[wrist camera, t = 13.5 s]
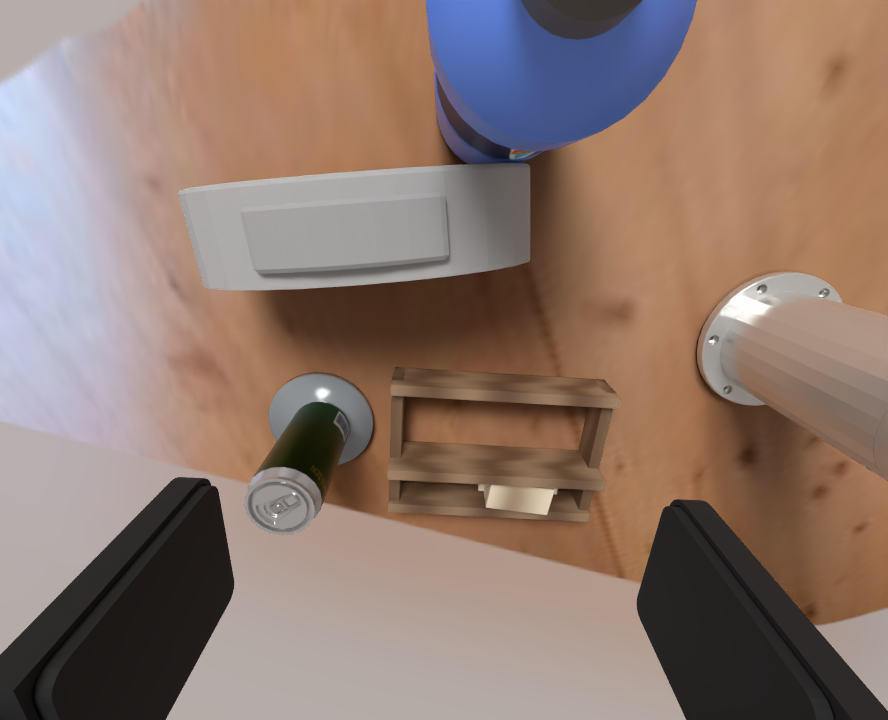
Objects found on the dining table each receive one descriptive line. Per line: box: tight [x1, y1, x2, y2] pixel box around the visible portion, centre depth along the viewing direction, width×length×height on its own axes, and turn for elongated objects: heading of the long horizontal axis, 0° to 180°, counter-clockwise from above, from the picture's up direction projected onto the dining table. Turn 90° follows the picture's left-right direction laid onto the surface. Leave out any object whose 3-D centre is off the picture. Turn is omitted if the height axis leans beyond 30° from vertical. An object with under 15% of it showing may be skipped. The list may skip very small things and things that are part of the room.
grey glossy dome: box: [269, 373, 374, 465], centre depth 41 cm, size 10×10×1 cm
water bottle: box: [426, 0, 697, 164], centre depth 20 cm, size 9×9×25 cm
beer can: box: [244, 401, 350, 535], centre depth 35 cm, size 5×5×12 cm
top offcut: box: [484, 485, 555, 515], centre depth 41 cm, size 6×3×2 cm, turn 81°
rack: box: [387, 367, 621, 522], centre depth 40 cm, size 20×14×5 cm
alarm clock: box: [178, 163, 530, 290], centre depth 29 cm, size 23×6×13 cm, turn 94°
